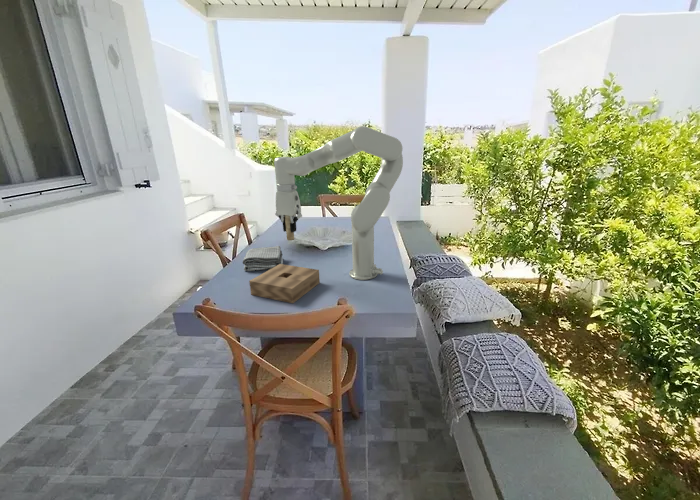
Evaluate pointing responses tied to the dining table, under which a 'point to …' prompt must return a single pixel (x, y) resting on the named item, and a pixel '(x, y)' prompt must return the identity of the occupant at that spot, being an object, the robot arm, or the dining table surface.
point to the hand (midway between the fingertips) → (289, 230)
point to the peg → (288, 228)
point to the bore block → (285, 283)
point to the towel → (262, 258)
